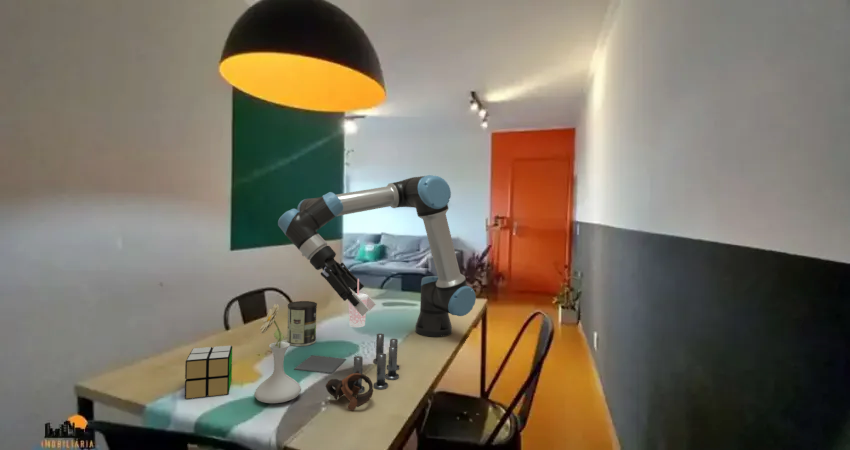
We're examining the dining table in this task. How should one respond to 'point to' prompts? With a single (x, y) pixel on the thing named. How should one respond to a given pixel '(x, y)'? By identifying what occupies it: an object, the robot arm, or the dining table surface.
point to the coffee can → (301, 323)
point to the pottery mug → (350, 389)
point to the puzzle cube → (208, 372)
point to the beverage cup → (354, 315)
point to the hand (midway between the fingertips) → (369, 310)
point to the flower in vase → (277, 369)
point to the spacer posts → (380, 364)
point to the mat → (320, 364)
